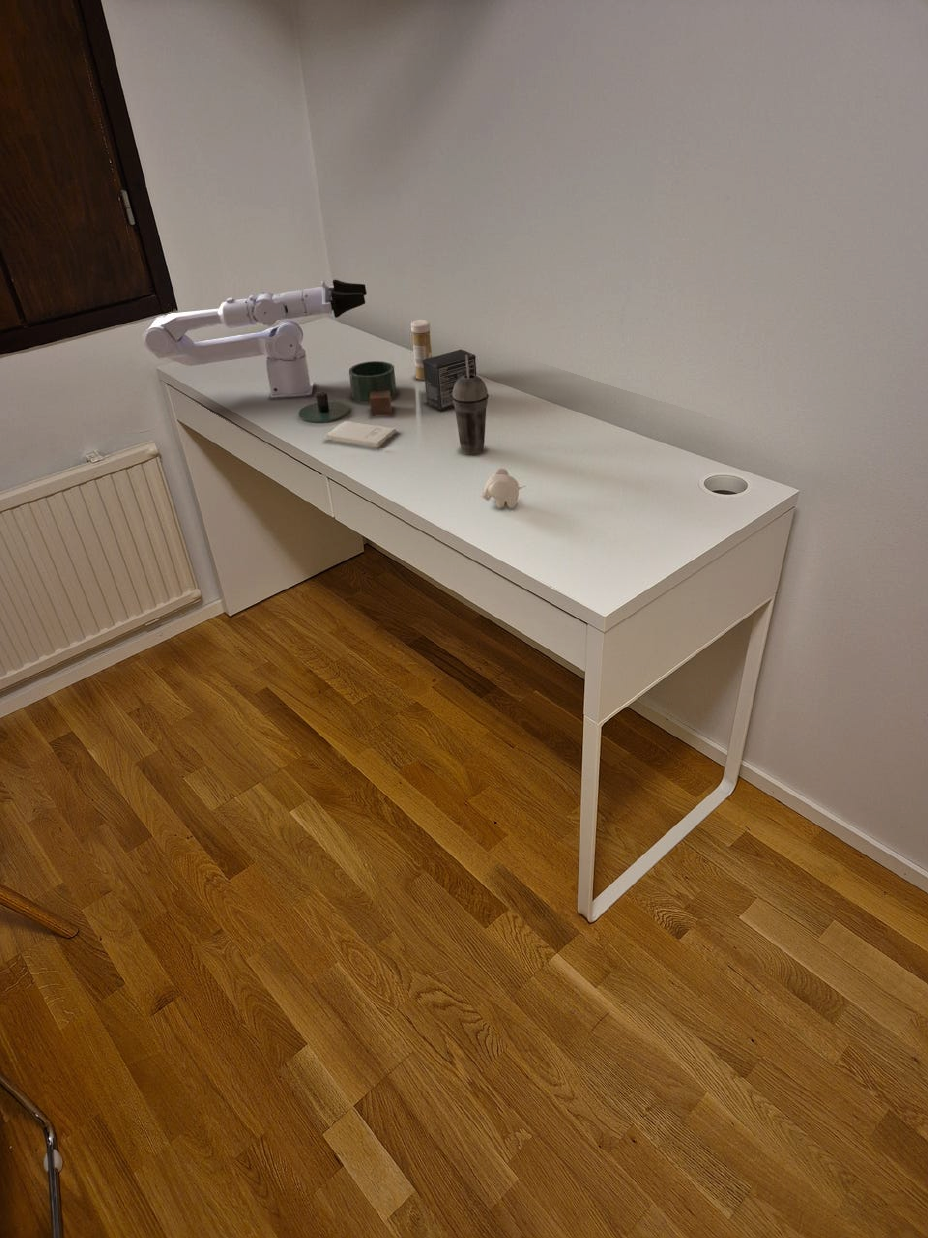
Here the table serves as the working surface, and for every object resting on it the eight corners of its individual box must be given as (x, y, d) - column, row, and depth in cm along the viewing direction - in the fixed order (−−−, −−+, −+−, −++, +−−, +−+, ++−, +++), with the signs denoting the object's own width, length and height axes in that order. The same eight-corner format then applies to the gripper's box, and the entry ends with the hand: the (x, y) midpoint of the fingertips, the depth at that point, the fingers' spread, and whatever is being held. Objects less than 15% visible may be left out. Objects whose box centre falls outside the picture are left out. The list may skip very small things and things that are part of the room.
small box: (463, 392, 202) (461, 347, 196) (479, 400, 197) (477, 355, 191) (425, 403, 197) (421, 358, 191) (440, 411, 193) (437, 365, 187)
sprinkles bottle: (437, 377, 211) (434, 321, 203) (423, 382, 209) (419, 326, 201) (425, 373, 214) (421, 317, 206) (411, 378, 211) (406, 322, 204)
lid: (297, 426, 190) (293, 404, 187) (302, 407, 199) (298, 386, 196) (347, 423, 190) (345, 401, 187) (350, 404, 199) (347, 382, 196)
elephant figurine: (482, 495, 159) (481, 466, 156) (526, 495, 158) (526, 466, 155) (479, 513, 154) (478, 483, 150) (524, 513, 153) (524, 483, 149)
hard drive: (346, 427, 188) (396, 434, 184) (326, 441, 183) (377, 449, 178) (345, 419, 188) (395, 427, 183) (325, 434, 182) (377, 442, 177)
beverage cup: (495, 444, 177) (492, 347, 166) (484, 459, 172) (480, 360, 160) (461, 441, 179) (456, 345, 168) (449, 456, 174) (443, 358, 162)
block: (371, 417, 192) (369, 398, 190) (372, 410, 196) (370, 391, 193) (391, 416, 192) (389, 397, 190) (391, 408, 196) (389, 390, 193)
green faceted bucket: (351, 405, 198) (347, 378, 195) (353, 389, 207) (350, 362, 203) (396, 402, 199) (393, 375, 195) (396, 386, 207) (394, 359, 203)
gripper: (298, 293, 187) (360, 283, 187) (304, 276, 199) (362, 267, 199) (306, 325, 191) (366, 316, 191) (312, 307, 203) (368, 298, 203)
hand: (365, 293), depth 195 cm, fingers open, 7 cm apart
